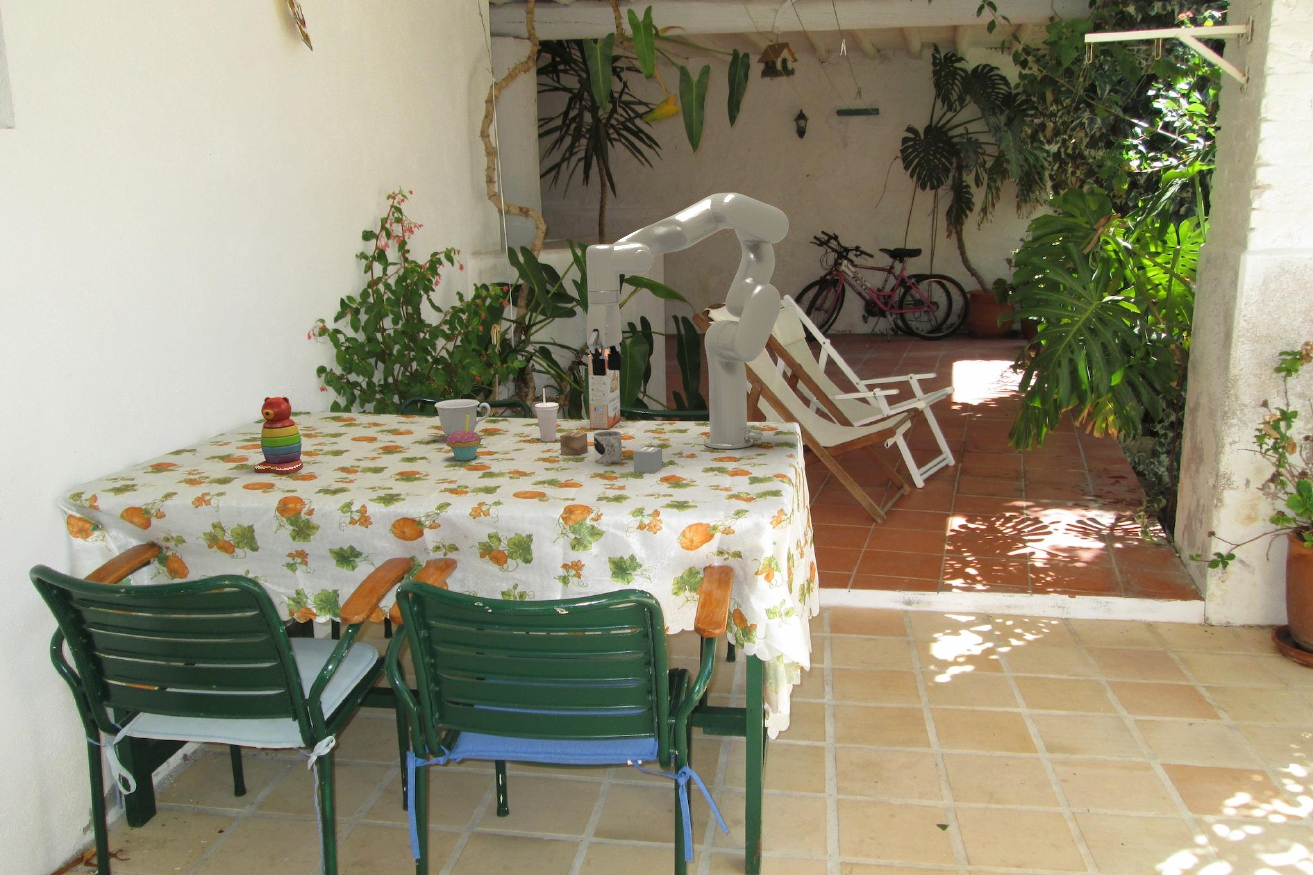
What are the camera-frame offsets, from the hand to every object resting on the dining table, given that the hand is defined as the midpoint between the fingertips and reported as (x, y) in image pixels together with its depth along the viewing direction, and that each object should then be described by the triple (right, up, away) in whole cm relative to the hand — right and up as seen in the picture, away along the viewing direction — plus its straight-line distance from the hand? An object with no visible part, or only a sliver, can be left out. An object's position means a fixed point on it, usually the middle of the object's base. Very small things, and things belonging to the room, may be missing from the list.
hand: (607, 372), depth 249 cm
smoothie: (-17, -16, +31) cm, 39 cm away
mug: (+1, -22, +5) cm, 22 cm away
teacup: (-40, -16, +36) cm, 56 cm away
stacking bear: (-80, -23, +8) cm, 83 cm away
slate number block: (+10, -23, -5) cm, 26 cm away
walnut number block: (-9, -20, +15) cm, 26 cm away
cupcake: (-36, -21, +13) cm, 44 cm away
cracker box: (-3, -12, +50) cm, 51 cm away
